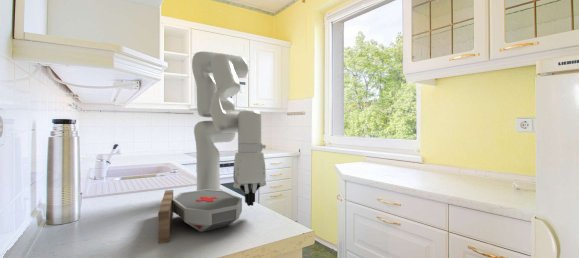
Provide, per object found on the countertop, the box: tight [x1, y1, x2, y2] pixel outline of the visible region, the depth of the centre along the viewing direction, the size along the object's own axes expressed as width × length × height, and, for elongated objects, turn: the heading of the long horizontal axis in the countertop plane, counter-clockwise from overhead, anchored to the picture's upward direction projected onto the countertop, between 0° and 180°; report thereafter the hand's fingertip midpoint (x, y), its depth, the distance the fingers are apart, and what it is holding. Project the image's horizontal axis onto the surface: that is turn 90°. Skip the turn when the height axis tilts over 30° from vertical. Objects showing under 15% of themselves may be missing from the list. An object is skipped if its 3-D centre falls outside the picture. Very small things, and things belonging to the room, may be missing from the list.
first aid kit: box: [172, 189, 243, 233], centre depth 90 cm, size 18×8×25 cm
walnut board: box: [157, 189, 175, 244], centre depth 87 cm, size 25×2×8 cm, turn 19°
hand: (249, 204), depth 95 cm, fingers closed
